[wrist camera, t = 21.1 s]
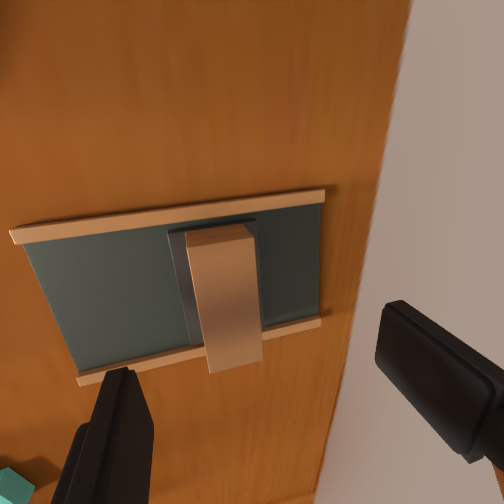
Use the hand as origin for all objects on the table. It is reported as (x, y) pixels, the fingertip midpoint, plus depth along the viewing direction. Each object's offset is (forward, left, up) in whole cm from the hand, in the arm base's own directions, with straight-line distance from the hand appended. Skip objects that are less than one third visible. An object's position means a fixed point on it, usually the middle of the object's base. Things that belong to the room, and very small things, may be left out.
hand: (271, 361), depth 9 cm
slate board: (+5, -2, -17) cm, 18 cm away
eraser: (+5, 0, -16) cm, 17 cm away
